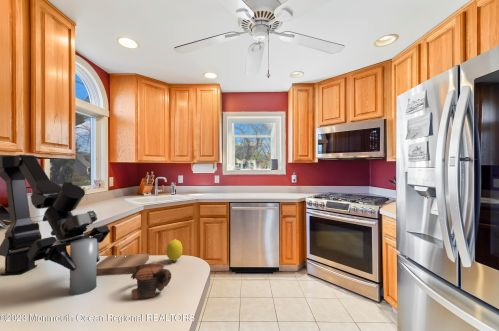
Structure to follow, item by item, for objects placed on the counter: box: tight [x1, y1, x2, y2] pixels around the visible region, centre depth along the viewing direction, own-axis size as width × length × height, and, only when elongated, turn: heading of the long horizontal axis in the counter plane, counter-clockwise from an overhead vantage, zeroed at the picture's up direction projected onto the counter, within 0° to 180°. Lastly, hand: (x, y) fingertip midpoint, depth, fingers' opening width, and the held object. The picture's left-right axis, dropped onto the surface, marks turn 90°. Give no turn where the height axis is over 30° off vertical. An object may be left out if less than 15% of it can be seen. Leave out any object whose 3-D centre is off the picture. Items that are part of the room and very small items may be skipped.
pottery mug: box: [130, 262, 172, 300], centre depth 63 cm, size 12×10×8 cm
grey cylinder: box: [69, 238, 98, 296], centre depth 64 cm, size 6×6×13 cm
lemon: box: [165, 238, 184, 262], centre depth 84 cm, size 6×6×8 cm
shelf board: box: [97, 253, 150, 276], centre depth 79 cm, size 14×12×2 cm
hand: (86, 265), depth 64 cm, fingers closed on grey cylinder, 6 cm apart
